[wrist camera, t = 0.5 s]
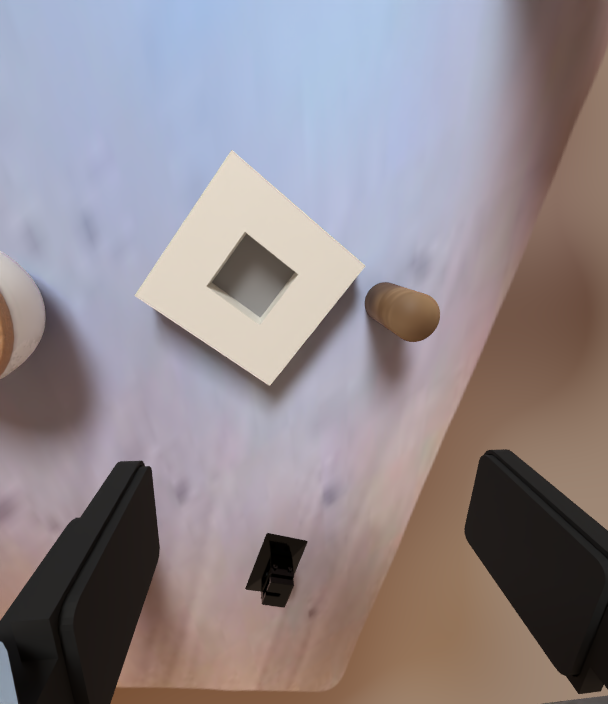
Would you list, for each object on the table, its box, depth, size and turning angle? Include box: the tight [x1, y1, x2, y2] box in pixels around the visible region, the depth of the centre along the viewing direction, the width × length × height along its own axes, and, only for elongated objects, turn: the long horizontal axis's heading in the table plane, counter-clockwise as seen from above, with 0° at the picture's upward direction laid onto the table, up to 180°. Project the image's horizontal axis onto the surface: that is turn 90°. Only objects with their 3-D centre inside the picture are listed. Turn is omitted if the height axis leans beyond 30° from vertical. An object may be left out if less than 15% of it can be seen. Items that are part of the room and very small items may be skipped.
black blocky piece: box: [245, 533, 307, 607], centre depth 43 cm, size 12×7×5 cm, turn 161°
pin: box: [365, 282, 440, 342], centre depth 31 cm, size 4×4×8 cm
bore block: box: [135, 150, 365, 386], centre depth 31 cm, size 14×14×4 cm
